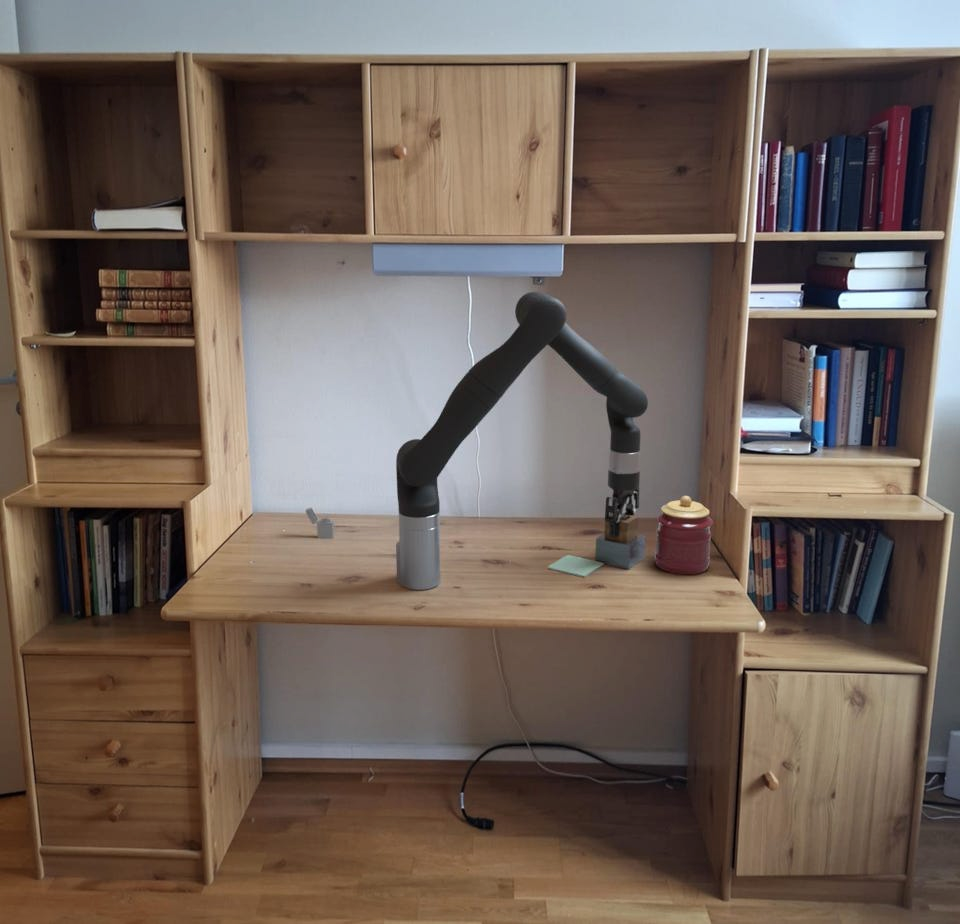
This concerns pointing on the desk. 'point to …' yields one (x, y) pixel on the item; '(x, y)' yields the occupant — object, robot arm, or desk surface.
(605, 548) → the block
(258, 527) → the desk surface
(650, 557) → the desk surface
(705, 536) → the canister
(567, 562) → the mat
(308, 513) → the lighter
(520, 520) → the desk surface
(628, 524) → the hollow wooden block
